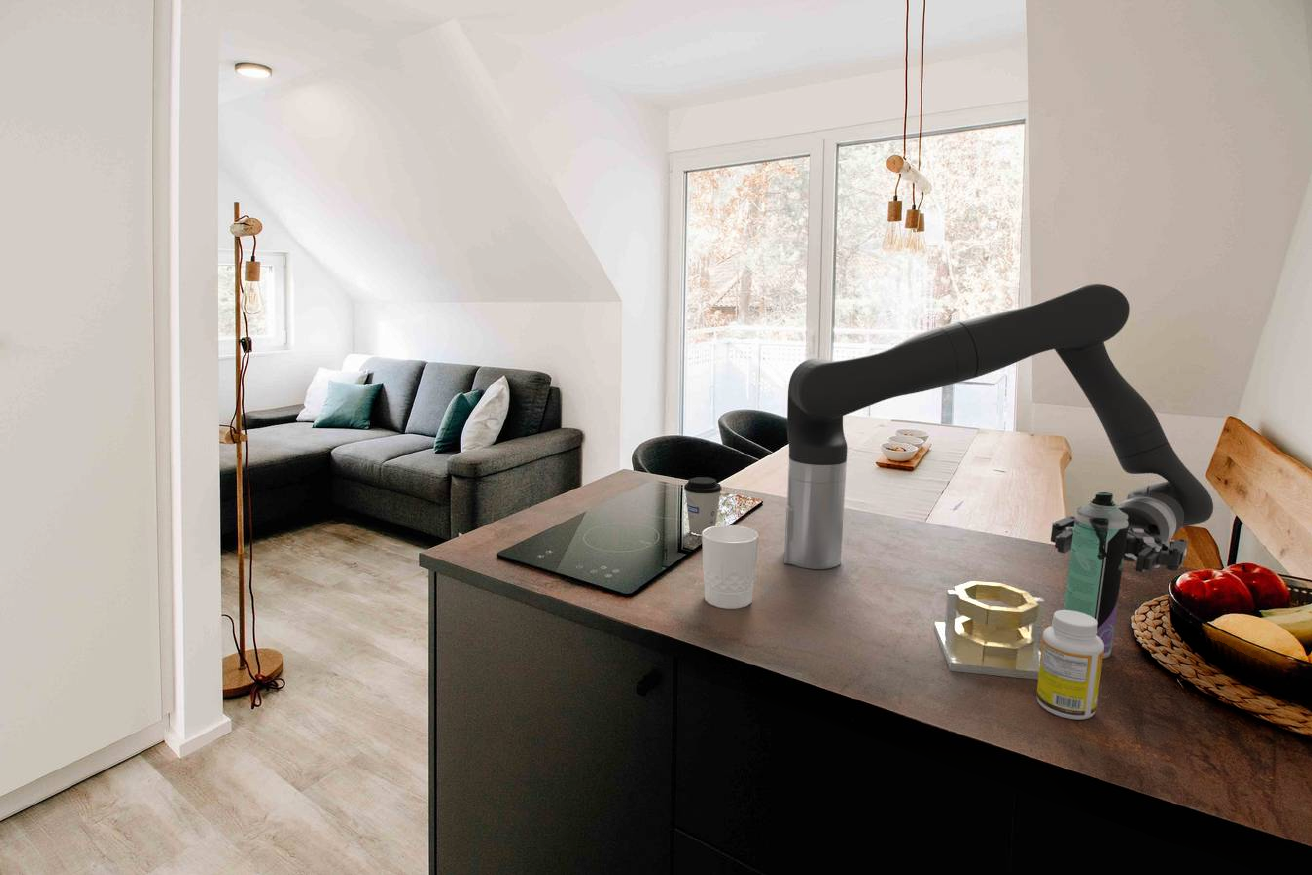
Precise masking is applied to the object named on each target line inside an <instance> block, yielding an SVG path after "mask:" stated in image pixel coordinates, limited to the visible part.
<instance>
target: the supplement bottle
mask: <svg viewBox="0 0 1312 875" xmlns="http://www.w3.org/2000/svg"><path fill="white" fill-rule="evenodd" d="M1051 624H1052V625H1051V626H1048V627H1047V628H1045V629H1044V631H1043V632H1042V637H1041V649H1040V653H1041V655H1040V665H1039V674H1038V680H1037V685H1036V693H1035V694H1036V700H1037V702H1038V704H1039V705H1040V707H1042V708H1043V709H1044V710H1046V711H1047V712H1050V714H1054V715H1055V716H1057V717H1058V716H1059V717H1060V718H1064V719H1069V720H1078V721H1079V720H1087V719H1090V718H1092V717H1093V716H1095V714H1096V711H1097V706H1098V705H1097V704H1098V698H1099V690H1100V689H1099V688H1100V683H1101V682H1100V681H1101V672H1102V667H1103V666H1102V665H1103V659H1104V658H1103V652H1104V644H1103V641H1102V640H1101V639H1100V638H1099V637H1098V636H1097V635H1096V634H1097V625H1098V622H1097V620H1096V619H1095V618H1093V617H1092V616H1090V615H1087V614H1085V613H1081V612H1077V611H1072V610H1064V609H1060V610H1056V611H1055V612H1054V613H1053V618H1052V621H1051Z"/></svg>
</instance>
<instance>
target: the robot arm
mask: <svg viewBox="0 0 1312 875" xmlns="http://www.w3.org/2000/svg"><path fill="white" fill-rule="evenodd" d="M1130 309H1131V308H1130V302H1129V300H1128V299H1127V297H1126V295H1125V294H1124V293H1123V292H1122V291H1120V290H1119V289H1117V288H1115V287H1113V286H1110V285H1107V284H1102V283H1089V284H1084V285H1081V286H1079V287H1076V288H1074V289H1072V290H1070V291H1067V292H1065V293H1063V294H1060V295H1057V296H1055V297H1052V298H1049V299H1046V300H1043V301H1042V302H1039V303H1035V304H1032V305H1029V306H1026V307H1021V308H1016V309H1010V310H1006V311H1000V312H999V311H998V312H994V313H991V314H986V315H981V316H977V317H976V316H975V317H973V318H968V319H964V320H960V321H956V322H951V323H948V324H944V325H941V326H940V325H939V326H937V327H934V328H929V329H928V330H925V331H923V332H920V333H917V334H915V335H913V336H911V337H909V338H908V339H906V340H905V339H904V340H903V341H902V342H900V343H898V344H896V345H894V346H893V347H890V348H888V349H887V350H886V349H885V350H883V351H881V352H878V353H877V352H876V353H874V354H869V355H865V356H860V357H855V358H849V359H844V360H843V359H842V360H833V361H832V360H830V359H826V358H820V357H819V358H818V357H816V358H810V359H807V360H805V361H802V362H801V363H799V364H798V366H796V368H795V369H794V370H793V371H792V373H791V375H790V378H789V381H788V385H787V401H786V403H787V405H786V406H787V408H786V409H787V410H786V415H787V416H786V436H787V443H788V471H787V487H786V488H787V490H786V505H785V506H786V507H785V530H784V532H785V533H784V552H783V563H784V564H788V565H789V564H790V565H793V566H796V567H800V568H805V569H811V570H812V569H813V570H824V569H825V570H826V569H833V568H835V567H838V566H839V565H841V563H842V553H843V536H844V535H843V534H844V517H845V516H844V515H845V501H846V483H847V465H848V464H847V463H848V450H849V449H848V442H847V440H846V437H845V432H844V417H845V416H847V415H850V414H852V413H855V412H857V411H859V410H862V409H865V408H868V407H869V406H872V405H875V404H878V403H880V402H883V401H887V400H890V399H893V398H897V397H901V396H907V395H909V394H911V395H912V394H917V393H922V392H925V391H929V390H930V391H931V390H934V389H938V388H943V387H947V386H951V385H955V384H959V383H963V382H965V381H969V380H973V379H976V378H979V377H982V376H985V375H988V374H990V373H993V372H996V371H999V370H1001V369H1004V368H1006V367H1009V366H1012V365H1014V364H1016V363H1018V362H1020V361H1023V360H1025V359H1027V358H1029V357H1033V356H1035V355H1037V354H1041V353H1044V352H1048V351H1052V350H1055V352H1056V354H1057V355H1058V356H1059V357H1060V359H1061V360H1062V362H1063V363H1064V364H1065V366H1066V368H1067V369H1068V370H1069V372H1070V374H1071V375H1072V377H1073V378H1074V379H1075V381H1076V383H1077V384H1078V386H1079V387H1080V388H1081V390H1082V392H1083V394H1084V395H1085V397H1086V398H1087V400H1088V402H1089V403H1090V406H1091V407H1092V409H1093V410H1094V412H1095V414H1096V415H1097V417H1098V420H1099V421H1100V423H1101V426H1102V428H1103V429H1104V431H1105V433H1106V436H1107V438H1108V441H1109V443H1110V444H1111V447H1112V450H1113V451H1114V454H1115V455H1116V456H1115V457H1117V459H1118V463H1119V464H1120V466H1121V468H1122V469H1123V471H1124V472H1126V473H1127V474H1132V475H1140V474H1141V475H1143V474H1155V475H1158V476H1159V477H1162V478H1163V479H1165V480H1166V481H1164V482H1161V483H1156V484H1151V485H1147V486H1144V487H1143V486H1142V487H1139V488H1136V489H1135V490H1133V491H1130V492H1129V493H1128V495H1127V496H1126V500H1124V501H1122V502H1120V503H1119V504H1117V508H1118V509H1120V510H1121V511H1122V512H1124V513H1126V514H1127V515H1128V520H1127V521H1128V523H1129V524H1128V531H1127V538H1126V546H1125V553H1124V560H1123V561H1125V562H1135V572H1138V573H1144V572H1146V571H1152V570H1154V569H1155V568H1160V565H1164V566H1165V568H1166V569H1167V570H1169V571H1179V570H1180V568H1181V567H1182V565H1183V563H1184V562H1185V561H1186V556H1187V550H1188V549H1187V548H1188V542H1189V540H1187V539H1184V538H1176V539H1175V540H1173V539H1172V538H1173V537H1174V536H1175V535H1176V534H1177V533H1178V531H1180V529H1181V528H1183V527H1189V526H1195V525H1198V524H1199V525H1200V524H1202V523H1205V522H1206V521H1209V519H1210V518H1211V516H1212V514H1213V512H1214V503H1213V499H1212V497H1211V494H1210V493H1209V491H1208V490H1207V489H1206V487H1205V486H1204V485H1203V484H1202V482H1200V480H1199V479H1197V477H1195V475H1194V474H1193V473H1192V472H1191V471H1190V470H1189V469H1188V468H1187V466H1185V464H1184V463H1183V462H1182V461H1181V459H1180V458H1179V457H1178V455H1177V454H1176V452H1175V451H1174V449H1173V448H1172V445H1171V443H1170V442H1169V439H1168V437H1167V435H1166V433H1165V431H1164V429H1163V426H1162V424H1161V422H1160V420H1159V418H1158V417H1157V415H1156V413H1155V411H1154V410H1153V409H1152V407H1151V406H1150V405H1149V403H1148V402H1147V401H1146V400H1145V399H1144V398H1143V396H1142V395H1141V394H1140V393H1139V392H1138V391H1137V390H1136V389H1135V388H1134V387H1133V386H1132V385H1131V384H1130V383H1129V382H1128V381H1127V380H1126V379H1125V378H1124V377H1123V375H1121V373H1120V371H1119V369H1117V367H1116V366H1115V365H1114V363H1113V362H1112V359H1111V357H1110V356H1109V353H1108V352H1107V351H1108V350H1107V349H1106V346H1105V342H1107V341H1109V340H1110V339H1112V338H1115V336H1116V335H1117V334H1118V333H1119V332H1120V331H1122V329H1123V328H1124V327H1125V325H1126V324H1127V322H1128V320H1129V316H1130V311H1131V310H1130ZM1074 520H1075V516H1072V515H1071V516H1066V517H1065V518H1062V519H1060V520H1057V521H1055V522H1052V523H1051V524H1052V526H1051V533H1050V542H1052V543H1054V548H1055V549H1057V552H1058V553H1059V554H1060V553H1061V554H1067V553H1068V552H1069V551H1071V545H1072V536H1073V528H1074ZM1171 539H1172V540H1171Z"/></svg>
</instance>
